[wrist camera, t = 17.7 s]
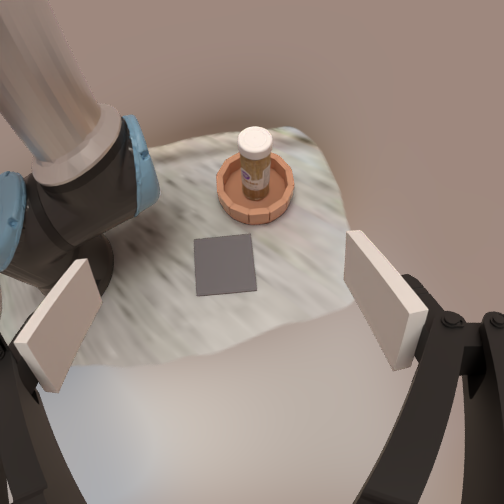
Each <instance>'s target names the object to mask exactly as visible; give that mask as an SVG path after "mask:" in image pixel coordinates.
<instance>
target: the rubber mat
mask: <svg viewBox="0 0 504 504" xmlns="http://www.w3.org/2000/svg"><path fill="white" fill-rule="evenodd" d="M194 256H195V276H196V293H197V296H205V295H217V294H227V293H237V292H247V291H257V287H256V277H255V268H254V259H253V250H252V240H251V234H242V235H232V236H222V237H213V238H203V239H194Z"/></svg>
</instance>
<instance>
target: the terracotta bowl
mask: <svg viewBox="0 0 504 504" xmlns="http://www.w3.org/2000/svg"><path fill="white" fill-rule="evenodd" d="M270 158H271V164H270V180H269V193H268V195H267V196H266V197H265V198H263V199H261V200H257V201H255V200H250V199H248V198H246V197H245V195H244V194H243V192H242V179H241V162H240V152H238V153H237V154H235V155H233V156H232V157H230V158H228V159H226V161H225V162H224V163H223V165H222V167H221V168H220V170H219V172H218V173H217V176H216V180H217V193H218V198H219V201H220V203H221V204H222V206H223V208H224V210H225V211H226V212H227V213H228V214H229V215H230V216H231V217H232V218H234V219H235V220H237V221H239V222H242V223H245V224H251V225H260V224H265V223H269V222H271V221H273V220H275V219H277V218H278V217H280V216H281V215H282V214H283V213H284V212H285V210H286V209H287V207H288V205H289V203H290V200H291V198H292V195H293V191H294V179H293V174H292V169H291V168H290V166H289V165H288V164H287V163H286V162H285V161H284V160H283V159H282V158H281V157H280V156H278V155H277V154H274V153H271V157H270Z"/></svg>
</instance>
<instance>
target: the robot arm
mask: <svg viewBox="0 0 504 504" xmlns="http://www.w3.org/2000/svg"><path fill="white" fill-rule="evenodd" d="M0 113H1V114H2V116H3V117H4V119H5V120H6V121H7V122H8V124H9V125H10V126H11V128H12V129H13V130H14V132H15V133H16V134H17V135H18V137H19V138H20V139H21V141H22V142H23V143H24V144H25V146H26V147H27V148H28V149H29V150H30V152H31V153H32V154H33V159H32V166H31V169H32V173H31V174H29V175H28V176H26V177H25V178H23V177H22V176H21V175H20V174H19V173H15V172H10V171H7V172H4V173H2V174H0V273H2V274H5V275H7V276H10V277H12V278H15V279H17V280H20V281H22V282H25V283H27V284H30V285H32V286H35V287H38V289H39V290H40V291H41V292H42V293H43V294H44V295H45V296H46V297H45V299H44V300H43V301H42V303H41V304H40V305H39V307H38V308H37V309H36V311H34V312H33V313H32V314H31V315H30V316H29V317H28V318H27V320H26V321H25V322H24V324H23V325H22V327H21V328H20V329H21V330H19V331H18V332H17V334H16V335H15V337H14V338H13V340H12V341H11V343H10V344H9V346H8V345H7V344H6V342H5V340H4V338H3V337H2V335H1V333H0V504H9V499H8V490H7V481H8V484H9V488H10V490H11V494H12V497H13V503H11V504H87V503H86V501H85V499H84V497H83V496H82V494H81V492H80V490H79V488H78V486H77V484H76V482H75V480H74V478H73V476H72V474H71V472H70V470H69V468H68V466H67V464H66V462H65V460H64V457H63V455H62V453H61V451H60V448H59V446H58V444H57V441H56V439H55V436H54V434H53V431H52V429H51V426H50V423H49V421H48V418H47V415H46V412H45V410H44V406H43V403H42V401H41V397H40V394H39V392H38V391H37V390H36V386H37V384H38V382H39V384H40V385H41V386H42V388H43V389H44V390H45V391H46V392H53V393H59V391H60V388H61V386H62V384H63V382H64V379H65V377H66V375H67V373H68V371H69V368H70V366H71V364H72V362H73V360H74V358H75V356H76V354H77V352H78V350H79V347H80V345H81V343H82V341H83V339H84V337H85V335H86V333H87V331H88V329H89V328H90V326H91V324H92V322H93V320H94V318H95V316H96V314H97V312H98V310H99V308H100V307H101V305H102V303H103V302H102V299H101V296H102V294H103V293H104V291H105V290H106V288H107V286H108V284H109V282H110V279H111V276H112V271H113V252H112V248H111V245H110V243H109V241H108V240H107V238H106V237H105V236H104V235H103V234H102V233H104V232H106V231H108V230H110V229H112V228H113V227H115V226H117V225H119V224H121V223H123V222H125V221H127V220H129V219H131V218H133V217H136V216H137V215H138V214H139V213H140V212H142V211H143V210H145V209H146V208H148V207H150V206H151V205H153V204H154V203H156V201H157V200H158V198H159V196H160V186H159V182H158V179H157V175H156V172H155V169H154V165H153V162H152V159H151V157H150V155H149V151H148V148H147V145H146V141H145V139H144V136H143V133H142V130H141V128H140V125H139V123H138V121H137V119H136V117H135V116H134V115H128V116H123V117H121V115H120V113H119V112H118V111H117V109H116V108H115V107H113V106H111V105H108V104H98V102H97V100H96V98H95V96H94V94H93V92H92V91H91V89H90V87H89V85H88V83H87V81H86V79H85V77H84V75H83V73H82V71H81V69H80V67H79V65H78V63H77V61H76V59H75V57H74V55H73V53H72V51H71V48H70V46H69V44H68V43H67V41H66V38H65V36H64V34H63V31H62V29H61V27H60V25H59V23H58V21H57V19H56V16H55V14H54V12H53V9H52V7H51V5H50V2H49V0H0ZM344 281H345V283H346V285H347V287H348V288H349V290H350V292H351V294H352V295H353V297H354V299H355V301H356V303H357V304H358V306H359V308H360V310H361V312H362V313H363V315H364V317H365V319H366V320H367V323H368V324H369V326H370V328H371V330H372V331H373V333H374V336H375V337H376V339H377V341H378V343H379V345H380V347H381V349H382V351H383V352H384V355H385V356H386V358H387V360H388V362H389V364H390V366H391V368H392V370H393V371H397V370H401V369H405V368H408V367H410V366H411V364H412V361H413V358H414V356H415V357H416V359H417V361H418V362H419V364H418V367H417V370H416V372H415V375H414V377H413V380H412V383H411V386H410V389H409V391H408V394H407V396H406V399H405V401H404V404H403V406H402V409H401V411H400V413H399V416H398V418H397V420H396V422H395V425H394V427H393V429H392V431H391V433H390V436H389V438H388V440H387V442H386V444H385V446H384V448H383V450H382V452H381V454H380V456H379V458H378V460H377V462H376V464H375V465H374V467H373V469H372V471H371V473H370V475H369V477H368V478H367V480H366V482H365V484H364V485H363V487H362V489H361V490H360V492H359V494H358V495H357V497H356V499H355V500H354V502H353V504H418V502H419V500H420V497H421V495H422V493H423V490H424V488H425V486H426V483H427V480H428V478H429V475H430V473H431V471H432V468H433V465H434V463H435V460H436V457H437V454H438V451H439V448H440V445H441V442H442V439H443V436H444V432H445V429H446V426H447V422H448V419H449V415H450V412H451V408H452V404H453V400H454V396H455V391H456V387H457V382H458V378H459V376H461V375H462V381H463V393H464V413H465V460H464V461H465V462H464V478H463V491H462V501H461V504H504V314H501V313H499V312H488V313H486V314H485V315H484V317H483V319H482V322H481V323H466V321H465V320H464V318H463V317H462V316H460V315H459V314H457V313H454V312H451V311H444V310H443V309H442V307H441V306H440V305H439V304H438V303H437V301H436V300H435V299H434V298H433V297H432V296H431V294H429V293H428V291H427V290H426V289H425V288H424V287H423V285H422V284H421V283H420V282H419V281H418V280H417V279H416V278H414V277H412V276H411V275H409V274H405V275H400V274H399V273H398V272H397V270H396V269H395V268H394V267H393V266H392V265H391V264H390V262H389V261H388V260H387V259H386V258H385V257H384V255H383V254H382V253H381V252H380V251H379V250H378V249H377V248H376V246H375V245H374V244H373V243H372V242H371V241H370V240H369V239H368V237H367V236H366V235H365V234H364V233H363V232H362V231H361V230H356V231H346V250H345V267H344ZM6 478H7V479H6Z"/></svg>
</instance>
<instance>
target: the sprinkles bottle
mask: <svg viewBox="0 0 504 504" xmlns="http://www.w3.org/2000/svg"><path fill="white" fill-rule="evenodd" d="M272 144H273V139H272V136H271V134H270V132H269V131H267V130H266V129H264V128H261V127H255V126H254V127H249V128H246V129H244V130H243V131H242V132H241V133H240V134H239V136H238V150H239V152H240V162H241V179H242V192H243V194H244V195H245V197H246V198H248V199H250V200H255V201H257V200H261V199H263V198H265V197H266V196H267V195H268V193H269V180H270V164H271V158H270V157H271V151H272Z"/></svg>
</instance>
